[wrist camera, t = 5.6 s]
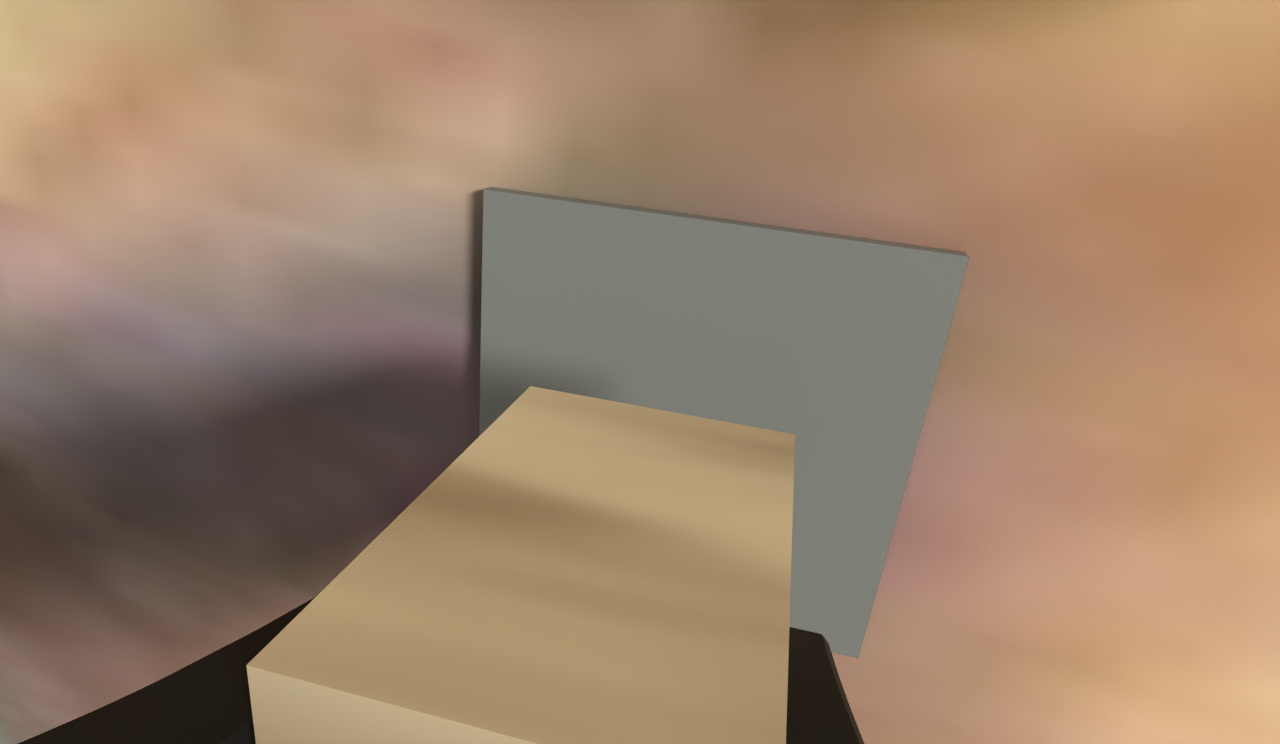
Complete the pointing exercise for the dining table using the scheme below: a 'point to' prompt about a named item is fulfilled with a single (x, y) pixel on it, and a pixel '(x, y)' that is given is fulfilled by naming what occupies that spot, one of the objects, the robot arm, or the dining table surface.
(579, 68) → the dining table surface
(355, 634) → the birch block
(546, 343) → the rubber mat
